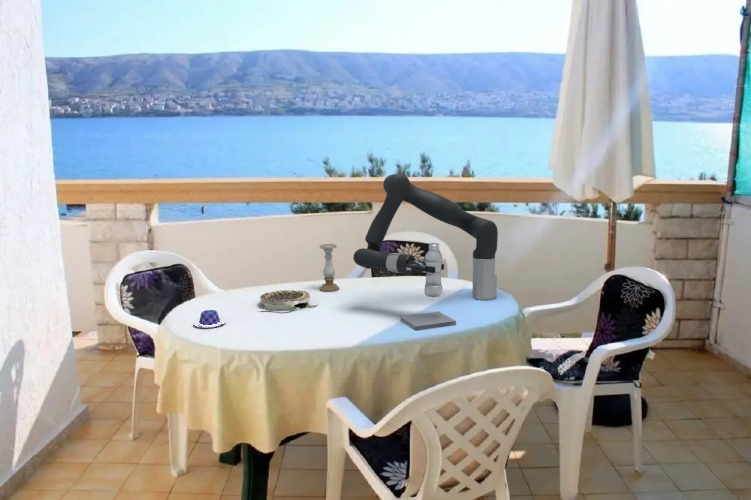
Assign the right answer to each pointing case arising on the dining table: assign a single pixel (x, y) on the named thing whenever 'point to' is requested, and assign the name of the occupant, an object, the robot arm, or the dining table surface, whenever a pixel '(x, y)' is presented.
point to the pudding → (209, 317)
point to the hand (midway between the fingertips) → (439, 268)
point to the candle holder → (328, 269)
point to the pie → (285, 300)
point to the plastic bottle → (434, 279)
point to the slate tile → (427, 320)
